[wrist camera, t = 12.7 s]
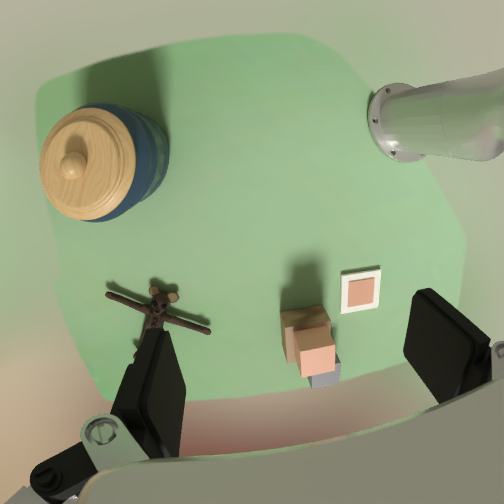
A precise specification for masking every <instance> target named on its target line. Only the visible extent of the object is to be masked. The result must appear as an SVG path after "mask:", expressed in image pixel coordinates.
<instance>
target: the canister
mask: <svg viewBox="0 0 504 504" xmlns="http://www.w3.org/2000/svg"><path fill="white" fill-rule="evenodd" d="M168 164H169V147H168V143H167V140H166V137H165V135H164V133H163V131H162V130H161V128H160V127H159V126H158V125H157V124H156V123H155V122H154V121H153V120H152V119H150V118H149V117H147V116H145V115H143V114H140V113H137V112H133V111H132V110H129V109H127V108H124V107H120V106H118V105H115V104H112V103H106V102H97V103H91V104H87V105H84V106H82V107H80V108H78V109H76V110H74V111H73V112H71V113H69V114H67V115H66V116H64V117H63V118H62V119H61V120H60V121H58V122H57V123H56V125H55V126H54V127H53V128H52V130H51V131H50V133H49V134H48V136H47V138H46V140H45V142H44V145H43V148H42V152H41V157H40V177H41V182H42V185H43V188H44V191H45V193H46V195H47V197H48V199H49V200H50V201H51V203H52V204H53V205H54V206H55V207H56V208H57V209H58V210H59V211H60V212H62V213H63V214H65V215H67V216H69V217H71V218H74V219H79V220H82V221H86V222H104V221H108V220H111V219H114V218H116V217H118V216H120V215H121V214H123V213H124V212H126V211H127V210H128V209H130V208H132V207H133V206H134V205H136V204H137V203H139V202H141V201H143V200H144V199H146V198H147V197H149V196H150V195H151V194H152V193H154V192H155V191H156V189H157V188H158V187H159V186H160V184H161V183H162V181H163V179H164V177H165V175H166V172H167V169H168Z"/></svg>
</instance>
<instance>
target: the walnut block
mask: <svg viewBox="0 0 504 504" xmlns="http://www.w3.org/2000/svg"><path fill="white" fill-rule="evenodd" d="M280 318H281V332H282V346H283V350H284V353H285V357H286V361H287V363H293V362H297V361H296V358H295V347H294V334H293V332H294V331H300V330H305V329H311V328H316V327H321V326H326V327H327V329H328V331H329V333H330V332H331V320H330V318H329V316H328V314H327V313H326V311H325V309H324V307H323V306H322V305H319V306H313V307H307V308H300V309H294V310H287V311H280Z"/></svg>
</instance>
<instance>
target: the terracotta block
mask: <svg viewBox="0 0 504 504" xmlns="http://www.w3.org/2000/svg"><path fill="white" fill-rule="evenodd" d="M293 334H294V347H295V358H296V361H297V364H298V367H299V371H300V374H301V377H302V378H303V377H308V376H313V375H317V374H322V373H327V372H331V371H335V343H334V341H333V339H332V337H331V335H330V333H329V331H328V329H327V327H326V326H321V327H316V328H311V329H305V330H300V331H294V332H293Z"/></svg>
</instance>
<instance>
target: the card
mask: <svg viewBox="0 0 504 504" xmlns="http://www.w3.org/2000/svg"><path fill="white" fill-rule="evenodd" d="M380 278H381V269H374V270H367V271H361V272H354V273H348V274H341V284H340V314H344V313H350V312H355V311H361V310H366V309H371V308H376V307H378V301H379V290H380Z"/></svg>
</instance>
